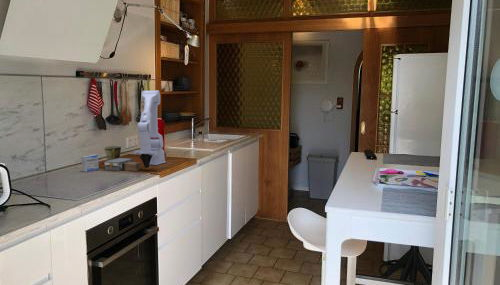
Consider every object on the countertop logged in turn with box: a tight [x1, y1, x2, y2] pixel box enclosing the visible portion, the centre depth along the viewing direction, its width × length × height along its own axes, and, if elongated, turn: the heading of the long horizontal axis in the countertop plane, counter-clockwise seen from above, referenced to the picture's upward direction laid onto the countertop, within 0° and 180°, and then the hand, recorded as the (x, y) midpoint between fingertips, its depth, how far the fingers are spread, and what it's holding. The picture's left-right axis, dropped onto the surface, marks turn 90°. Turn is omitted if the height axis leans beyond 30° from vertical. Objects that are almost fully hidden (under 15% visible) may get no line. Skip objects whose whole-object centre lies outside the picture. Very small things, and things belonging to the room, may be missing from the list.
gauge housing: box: [104, 157, 134, 172], centre depth 246 cm, size 12×10×5 cm
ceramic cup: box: [103, 145, 122, 161], centre depth 263 cm, size 13×10×10 cm
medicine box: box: [80, 154, 100, 173], centre depth 242 cm, size 8×4×9 cm, turn 143°
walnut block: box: [124, 161, 143, 172], centre depth 241 cm, size 5×8×4 cm, turn 64°
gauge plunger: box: [110, 160, 134, 170], centre depth 244 cm, size 12×9×4 cm
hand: (146, 167), depth 238 cm, fingers closed
